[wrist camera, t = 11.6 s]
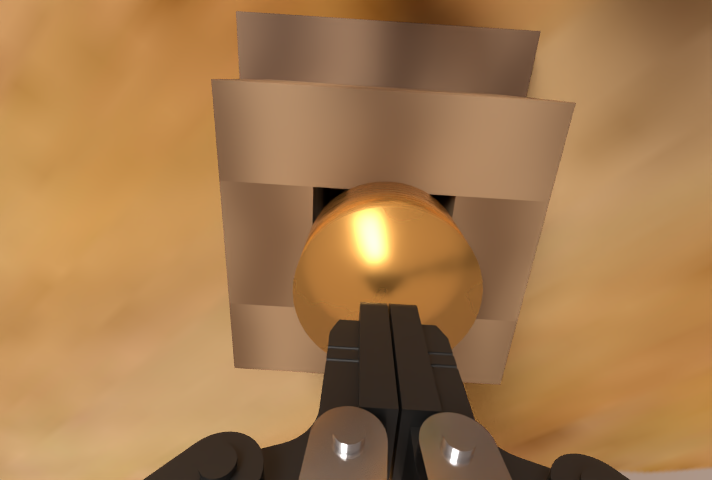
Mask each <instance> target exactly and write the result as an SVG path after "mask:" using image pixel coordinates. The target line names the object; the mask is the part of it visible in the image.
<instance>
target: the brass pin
mask: <svg viewBox="0 0 712 480" xmlns="http://www.w3.org/2000/svg"><path fill="white" fill-rule="evenodd" d="M482 294H483V281H482V275H481V270H480V267H479V264H478V261H477V259H476V257H475V255H474V253H473V251H472V249H471V247H470V246H469V244H468V243H467V241H466V239H465V238H464V236H463V235H462V233H461V231H460V230H459V228H458V227H457V225H456V224H455V222H454V220H453V219H452V217H451V216H450V214H449V213H448V212H447V210H446V209H445V208H444V207H443V206H442V205H441V204H440V202H439V201H437V200H436V199H435V198H434V197H432V196H431V195H429V194H428V193H426V192H424V191H423V190H421V189H418V188H416V187H413V186H411V185H407V184H403V183H398V182H372V183H366V184H362V185H359V186H356V187H353V188H351V189H345V190H344V192H343V193H341V194H340V195H338V196H337V197H335V198H334V199H333V200H331V201H330V202H329V203H328V204H327V205H326V206H325V207H324V208H323V209H322V211H321V212H320V213H319V215H318V216H317V218H316V219H315V221H314V223H313V225H312V227H311V230H310V232H309V235H308V238H307V240H306V243H305V246H304V249H303V251H302V254H301V257H300V260H299V262H298V265H297V268H296V271H295V276H294V280H293V302H294V306H295V311H296V314H297V316H298V319H299V322H300V323H301V325H302V327H303V329H304V331H305V332H306V333H307V335H308V336H309V337H310V339H311V340H312V341H313V342H314V343H315V344H316V345H317V346H318V347H319V348H320V349H322V350H323V351H324V352H325V353H327V349H328V341H329V334H330V330H331V329H332V328H333V327H334V326H335V324H336V323H337V322H338V321H339V319H340V320H356V321H359V310H360V302H372V303H387V305H389V303H390V304H406V305H416V306H417V308H418V312H419V316H420V321H421V324H423V325H436V326H437V327H438V328H439V329H440V330H441V331H442V332H443V333H444V334H445V336H446V337H447V338H448V340H449V343H450V346H451V349H453V348H454V347H455V346H456V345H457V344H458V343H459V342H460V341H461V340H462V339H463V338H464V337H465V335H466V334H467V333H468V332H469V330H470V328H471V327H472V325H473V324H474V322H475V319H476V317H477V315H478V312H479V309H480V306H481V301H482Z"/></svg>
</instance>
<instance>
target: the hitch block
mask: <svg viewBox="0 0 712 480" xmlns="http://www.w3.org/2000/svg"><path fill="white" fill-rule="evenodd" d="M236 18H237V36H238V55H239V73H240V79H211V81H212V94H213V106H214V118H215V131H216V143H217V155H218V168H219V180H220V193H221V205H222V217H223V230H224V242H225V255H226V267H227V279H228V292H229V304H230V316H231V329H232V341H233V354H234V366H235V368H245V369H261V370H277V371H293V372H309V373H324V371H325V364H326V356H327V353H325V352H324V351H323V350H322V349H320V348H319V347H318V346H317V345H316V344H315V343H314V342H313V341H312V340H311V339H310V337H309V336H308V335H307V333H306V332H305V331H304V329H303V327H302V325H301V323H300V322H299V319H298V316H297V314H296V311H295V306H294V302H293V280H294V276H295V271H296V268H297V265H298V262H299V260H300V257H301V254H302V251H303V249H304V246H305V243H306V240H307V238H308V235H309V232H310V230H311V227H312V225H313V223H314V221H315V219H316V218H317V216H318V215H319V213H320V212H321V211H322V209H323V208H324V207H325V206H326V205H327V204H328V203H329V202H330V201H331V200H333V199H334V198H335V197H337V196H338V195H340V194H341V193H343V192H344V190H345V189H351V188H353V187H356V186H359V185H362V184H366V183H372V182H398V183H403V184H407V185H411V186H413V187H416V188H418V189H421V190H423V191H424V192H426V193H428V194H429V195H431V196H432V197H434V198H435V199H436V200H437V201H439V202H440V204H441V205H442V206H443V207H444V208H445V209H446V210H447V212H448V213H449V214H450V216H451V217H452V219H453V220H454V222H455V224H456V225H457V227H458V228H459V230H460V231H461V233H462V235H463V236H464V238H465V239H466V241H467V243H468V244H469V246H470V247H471V249H472V251H473V253H474V255H475V257H476V259H477V261H478V264H479V267H480V270H481V275H482V281H483V294H482V301H481V306H480V309H479V312H478V315H477V317H476V319H475V322H474V324H473V325H472V327H471V328H470V330H469V332H468V333H467V334H466V335H465V337H464V338H463V339H462V340H461V341H460V342H459V343H458V344H457V345H456V346H455V347H454V348H453V349H452V352H453V356H454V358H455V361H456V364H457V369H458V370H459V373H460V376H461V379H462V382H467V383H483V384H499V385H500V383H501V380H502V376H503V372H504V369H505V365H506V361H507V357H508V354H509V350H510V346H511V342H512V339H513V335H514V331H515V328H516V324H517V320H518V316H519V313H520V309H521V305H522V301H523V298H524V294H525V290H526V286H527V283H528V279H529V275H530V272H531V268H532V264H533V260H534V257H535V253H536V249H537V245H538V242H539V238H540V234H541V231H542V227H543V223H544V219H545V216H546V212H547V208H548V204H549V201H550V197H551V193H552V189H553V186H554V182H555V178H556V175H557V171H558V167H559V163H560V160H561V156H562V152H563V148H564V145H565V141H566V137H567V134H568V130H569V126H570V122H571V119H572V115H573V111H574V107H575V104H576V103H572V102H563V101H554V100H545V99H535V98H526V95H527V91H528V86H529V82H530V77H531V73H532V68H533V63H534V59H535V54H536V50H537V45H538V41H539V36H540V32H541V31H529V30H514V29H499V28H483V27H468V26H453V25H438V24H422V23H407V22H392V21H377V20H361V19H346V18H331V17H316V16H301V15H285V14H270V13H255V12H240V11H236Z"/></svg>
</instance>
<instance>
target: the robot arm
mask: <svg viewBox="0 0 712 480" xmlns="http://www.w3.org/2000/svg"><path fill="white" fill-rule="evenodd" d="M144 480H629V479H628V478H626V477H625V476H624V475H622V474H621V473H620V472H618V471H617V470H615V469H614V468H612V467H611V466H609V465H608V464H606V463H604V462H602V461H600V460H598V459H595V458H593V457H590V456H586V455H581V454H566V455H563V456H560V457H559V458H557V459H556V460H555V461H554V463H553V465H552V467H551V468H548V467H545V466H542V465H539V464H536V463H533V462H531V461H528V460H525V459H522V458H519V457H516V456H514V455H511V454H509V453H507V452H506V451H504V450H502V449H501V448H499V447H497V445H496V443H495V441H494V439H493V437H492V436H491V435H490V433H489V432H488V431H487V430H486V429H485V428H484V427H483V426H482V425H481V424H479V423H478V422H476V421H475V419H474V416H473V413H472V410H471V407H470V404H469V401H468V398H467V395H466V392H465V389H464V386H463V382H462V379H461V376H460V373H459V370H458V369H457V364H456V361H455V358H454V356H453V352H452V349H451V346H450V343H449V340H448V338H447V337H446V336H445V334H444V333H443V332H442V331H441V330H440V329H439V328H438V327H437V326H436V325H423V324H421V321H420V316H419V312H418V308H417V306H416V305H406V304H390V303H389V305H387V303H372V302H360V310H359V321H356V320H340V319H339V321H338V322H337V323H336V324H335V326H334V327H333V328H332V329H331V330H330V334H329V341H328V349H327V356H326V364H325V371H324V379H323V386H322V394H321V401H320V409H319V413H318V416H317V418H316V420H315V422H314V423H313V425H312V426H311V427H310V428H309V429H308V430H307V431H306V432H305V433H304V434H302V435H301V436H299V437H297V438H296V439H293V440H291V441H289V442H286V443H282V444H278V445H274V446H270V447H266V448H262V449H260V447H259V445H258V444H257V443H256V441H255V440H253V439H252V438H251V437H249V436H247V435H245V434H242V433H238V432H221V433H216V434H213V435H210V436H208V437H206V438H203V439H201V440H200V441H198V442H197V443H195V444H194V445H192V446H191V447H189V448H188V449H186V450H185V451H184V452H182V453H181V454H179V455H178V456H176V457H175V458H174V459H172V460H171V461H169V462H168V463H166V464H165V465H164V466H162V467H161V468H159V469H158V470H156V471H155V472H154V473H152V474H151V475H149V476H148V477H146V478H145V479H144Z"/></svg>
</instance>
